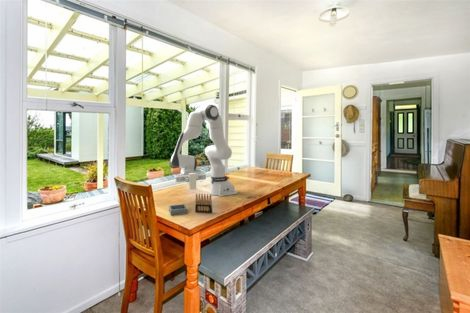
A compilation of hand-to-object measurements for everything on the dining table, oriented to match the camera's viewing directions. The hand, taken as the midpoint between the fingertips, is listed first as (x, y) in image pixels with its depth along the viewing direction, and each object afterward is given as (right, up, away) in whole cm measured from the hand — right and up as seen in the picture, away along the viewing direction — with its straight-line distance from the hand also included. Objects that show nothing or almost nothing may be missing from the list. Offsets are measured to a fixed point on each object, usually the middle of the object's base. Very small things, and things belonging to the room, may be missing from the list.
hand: (192, 179), depth 163 cm
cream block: (0, -6, +2) cm, 6 cm away
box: (-9, -20, -4) cm, 22 cm away
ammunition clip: (+8, -20, -5) cm, 22 cm away
